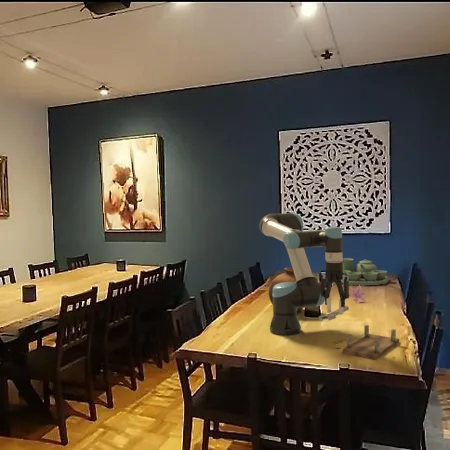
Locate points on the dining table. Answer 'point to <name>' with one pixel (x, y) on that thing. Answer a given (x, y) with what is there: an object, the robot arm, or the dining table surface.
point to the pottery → (281, 278)
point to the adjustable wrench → (332, 314)
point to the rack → (370, 344)
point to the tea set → (363, 273)
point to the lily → (357, 294)
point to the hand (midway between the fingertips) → (335, 313)
